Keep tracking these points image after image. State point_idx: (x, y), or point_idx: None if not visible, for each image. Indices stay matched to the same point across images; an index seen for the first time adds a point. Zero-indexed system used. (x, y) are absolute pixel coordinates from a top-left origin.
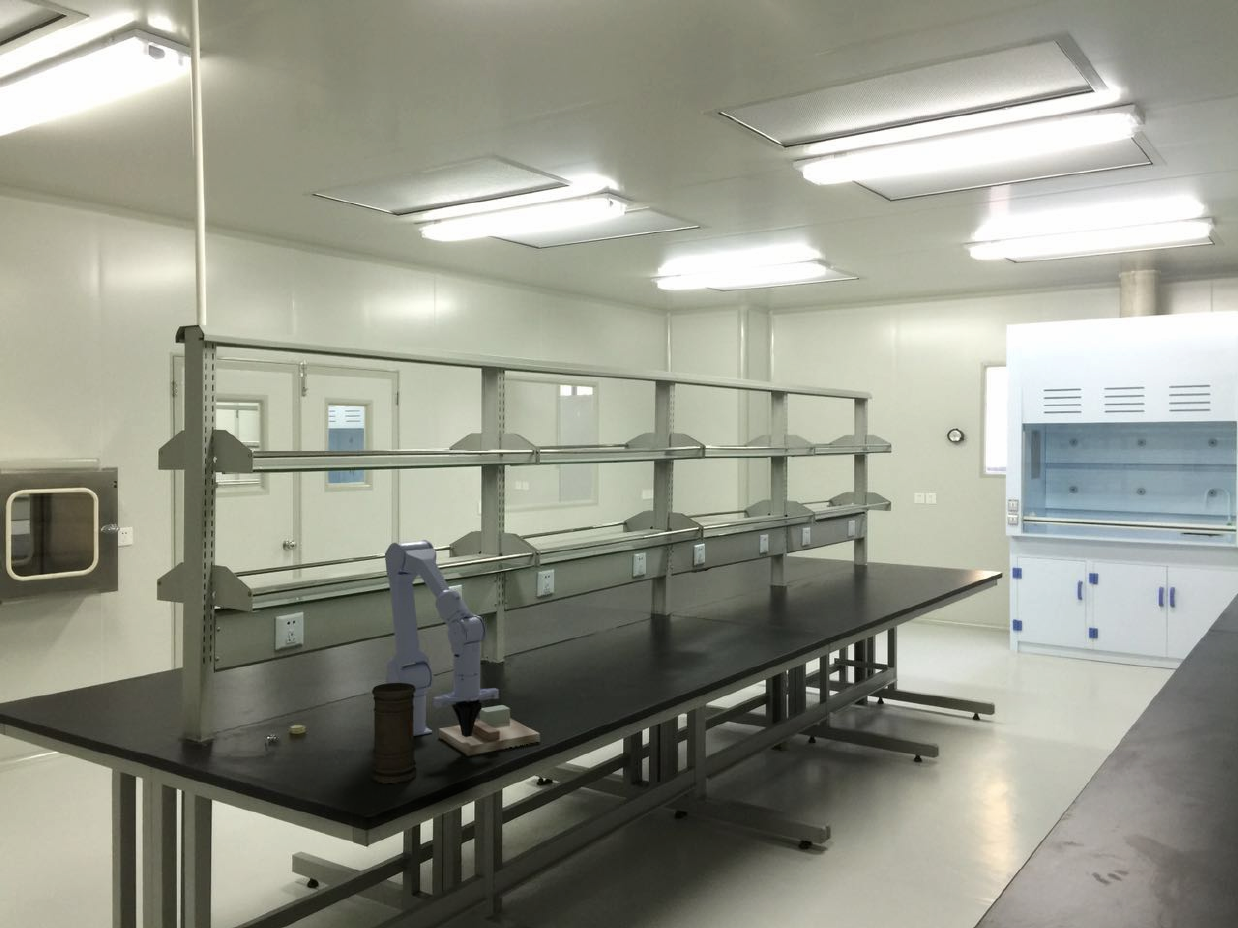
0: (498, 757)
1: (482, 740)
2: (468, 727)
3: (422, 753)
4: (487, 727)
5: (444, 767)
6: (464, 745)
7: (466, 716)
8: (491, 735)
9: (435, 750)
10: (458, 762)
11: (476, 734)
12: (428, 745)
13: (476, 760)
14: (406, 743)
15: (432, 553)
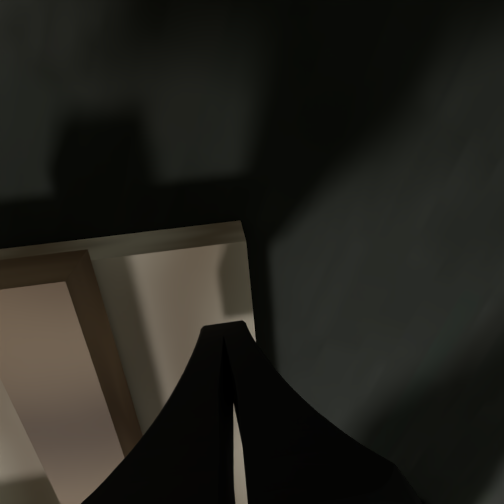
0: (67, 99)
1: (121, 314)
2: (233, 356)
3: (418, 336)
4: (53, 401)
5: (445, 69)
6: (249, 284)
7: (280, 422)
8: (53, 271)
9: (350, 353)
10: (335, 124)
11: (133, 405)
12: (346, 418)
13: (224, 108)
14: None
15: None
